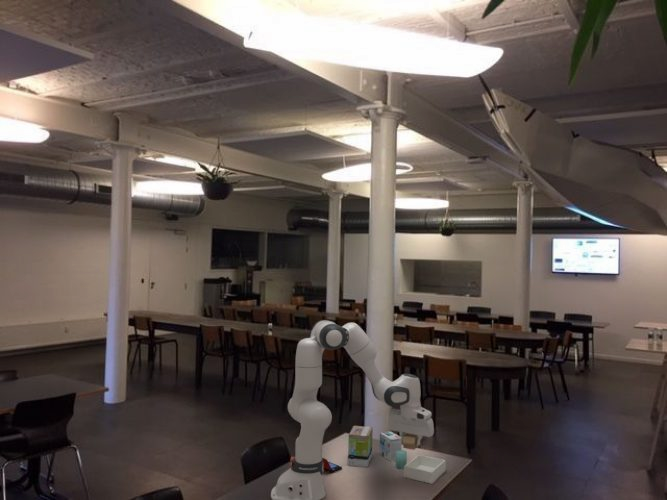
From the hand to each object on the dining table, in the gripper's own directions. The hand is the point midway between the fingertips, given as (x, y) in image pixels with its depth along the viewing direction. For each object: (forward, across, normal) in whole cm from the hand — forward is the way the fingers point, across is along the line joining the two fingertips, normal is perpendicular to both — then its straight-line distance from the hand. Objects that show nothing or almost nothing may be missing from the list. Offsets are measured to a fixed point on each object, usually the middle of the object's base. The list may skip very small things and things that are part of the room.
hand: (411, 443), depth 227 cm
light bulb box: (+17, -21, +22) cm, 35 cm away
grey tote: (+17, +2, +11) cm, 20 cm away
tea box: (+17, -31, +10) cm, 37 cm away
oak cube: (+2, 0, 0) cm, 2 cm away
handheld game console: (+17, -40, -8) cm, 44 cm away
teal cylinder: (+17, -11, +13) cm, 24 cm away
